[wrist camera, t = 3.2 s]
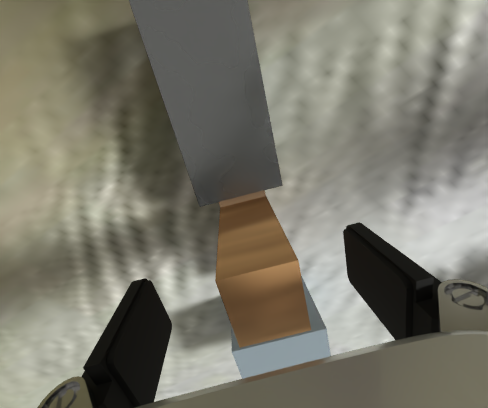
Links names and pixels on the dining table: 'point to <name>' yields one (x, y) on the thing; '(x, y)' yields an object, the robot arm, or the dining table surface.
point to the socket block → (284, 347)
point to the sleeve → (212, 93)
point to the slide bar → (258, 272)
